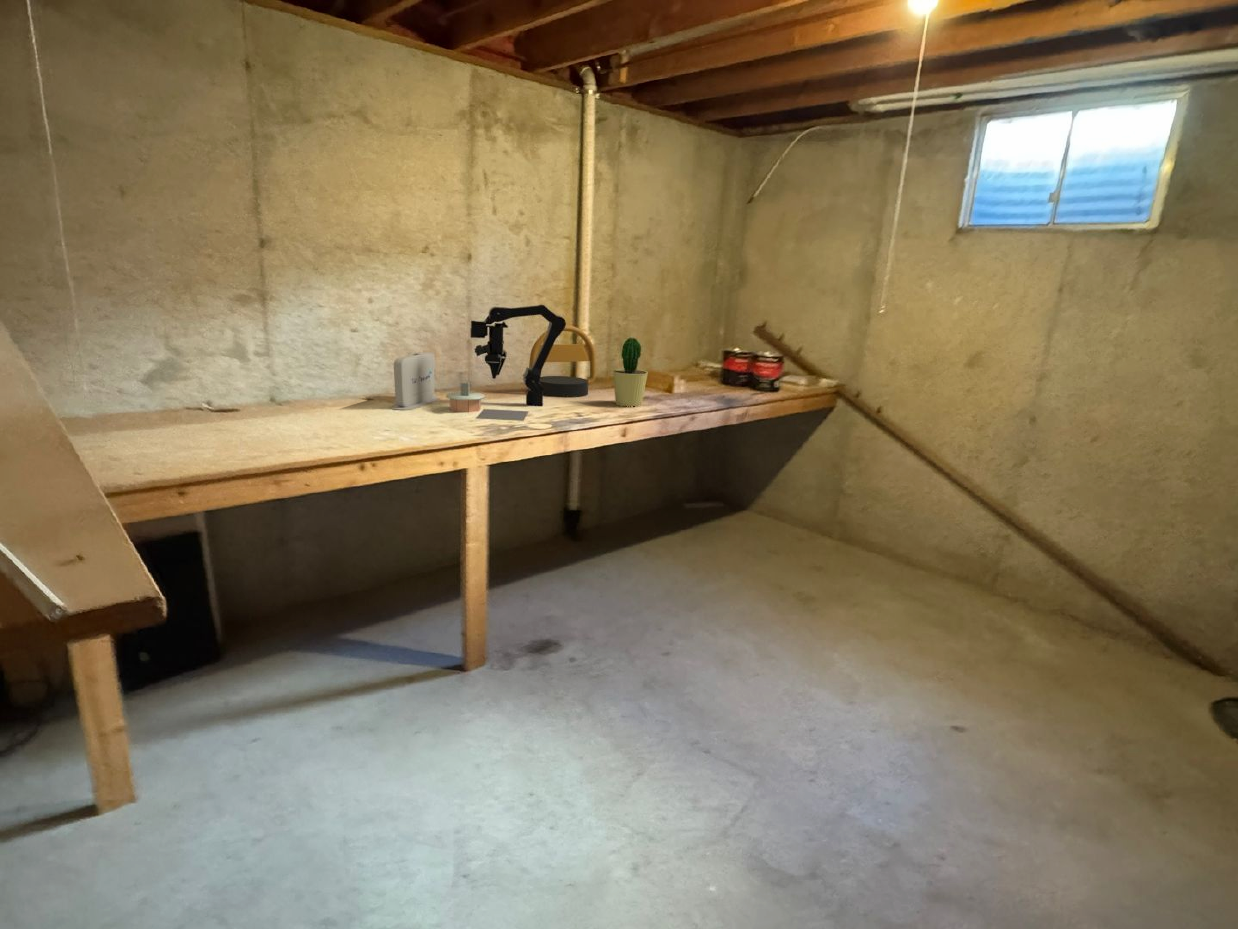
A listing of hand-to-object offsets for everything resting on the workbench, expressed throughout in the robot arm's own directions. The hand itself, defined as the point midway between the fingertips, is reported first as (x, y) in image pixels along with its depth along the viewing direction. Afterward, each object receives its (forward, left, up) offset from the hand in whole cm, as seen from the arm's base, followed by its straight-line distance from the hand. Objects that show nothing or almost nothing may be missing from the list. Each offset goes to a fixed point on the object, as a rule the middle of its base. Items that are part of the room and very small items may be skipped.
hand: (495, 376), depth 283 cm
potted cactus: (-56, -17, -12) cm, 60 cm away
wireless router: (+32, +4, -12) cm, 35 cm away
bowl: (+10, +13, -12) cm, 20 cm away
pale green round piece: (+10, +13, -6) cm, 18 cm away
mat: (-6, +20, -12) cm, 24 cm away
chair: (-25, -39, -12) cm, 48 cm away
